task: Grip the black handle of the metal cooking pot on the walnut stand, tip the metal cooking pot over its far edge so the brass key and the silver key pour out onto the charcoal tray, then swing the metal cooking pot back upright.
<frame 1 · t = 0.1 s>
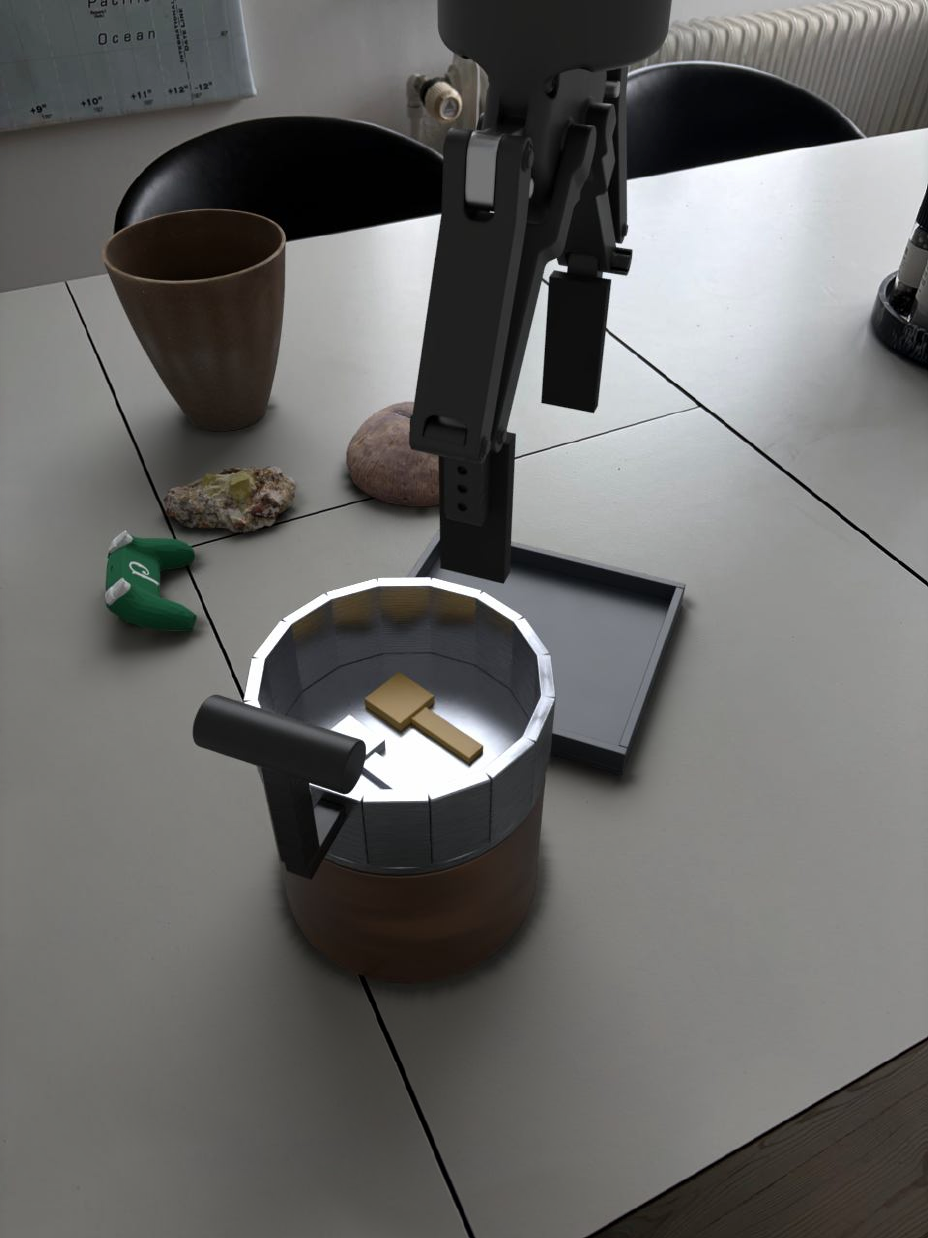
hand: (527, 479, 45), 24 cm above the table, tool pointing down, fingers open, 13 cm apart
decorative stone: (417, 471, 87), on the table
stand: (411, 865, 58), on the table
gaming controller: (157, 600, 75), on the table
brass key: (428, 723, 52), point 11 cm above the table, touching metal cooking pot
mineral rock: (233, 508, 83), on the table
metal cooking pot: (382, 691, 45), point 17 cm above the table, hinge at -0.1°, touching brass key, silver key
flower pot: (225, 412, 94), on the table
silver key: (377, 770, 49), point 11 cm above the table, touching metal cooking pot
tray: (521, 646, 71), on the table
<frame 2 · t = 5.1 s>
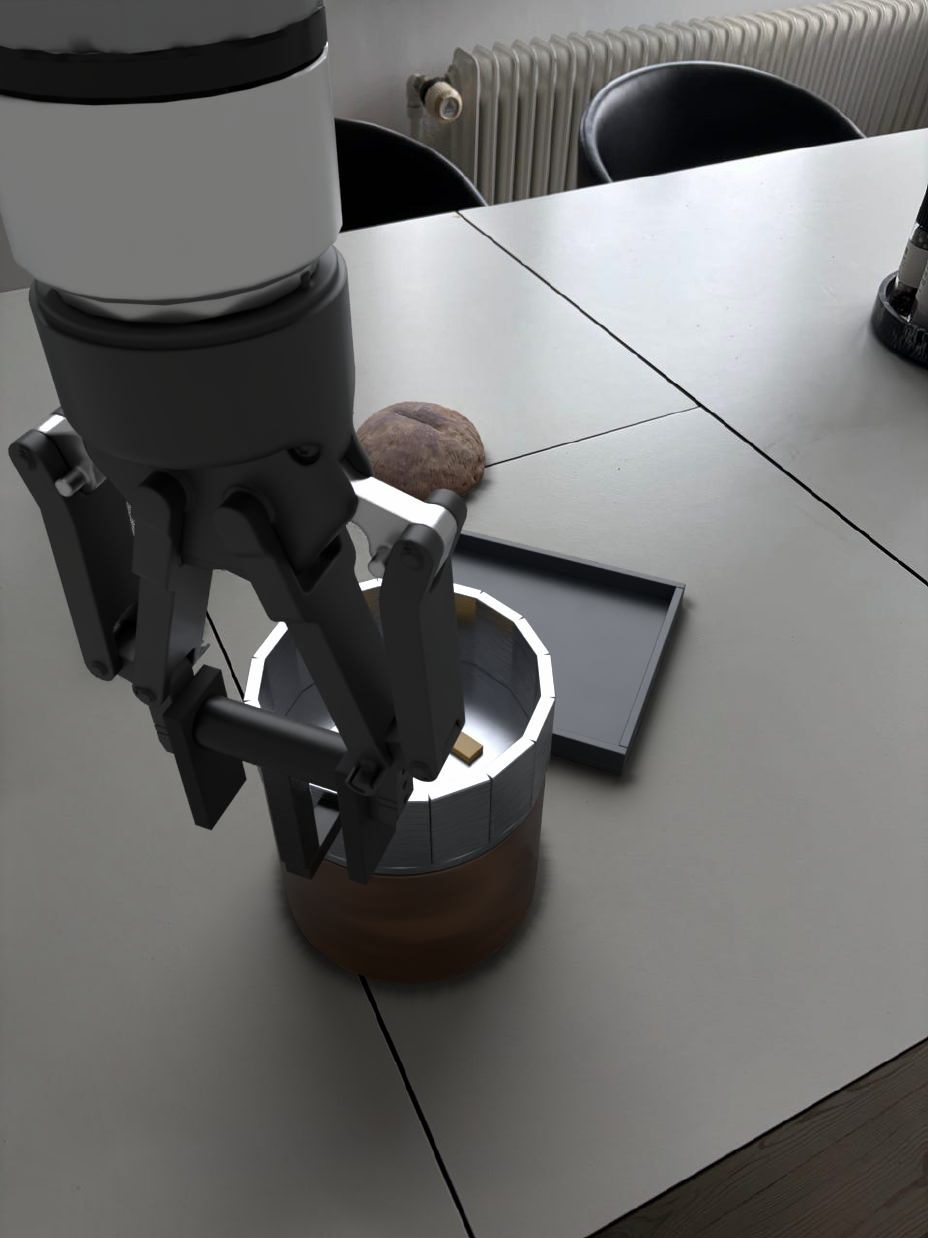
hand: (295, 826, 40), 17 cm above the table, tool pointing down, fingers closed on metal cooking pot, 6 cm apart
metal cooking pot: (382, 691, 45), point 17 cm above the table, hinge at -0.1°, touching brass key, gripper, silver key
everything else where it was.
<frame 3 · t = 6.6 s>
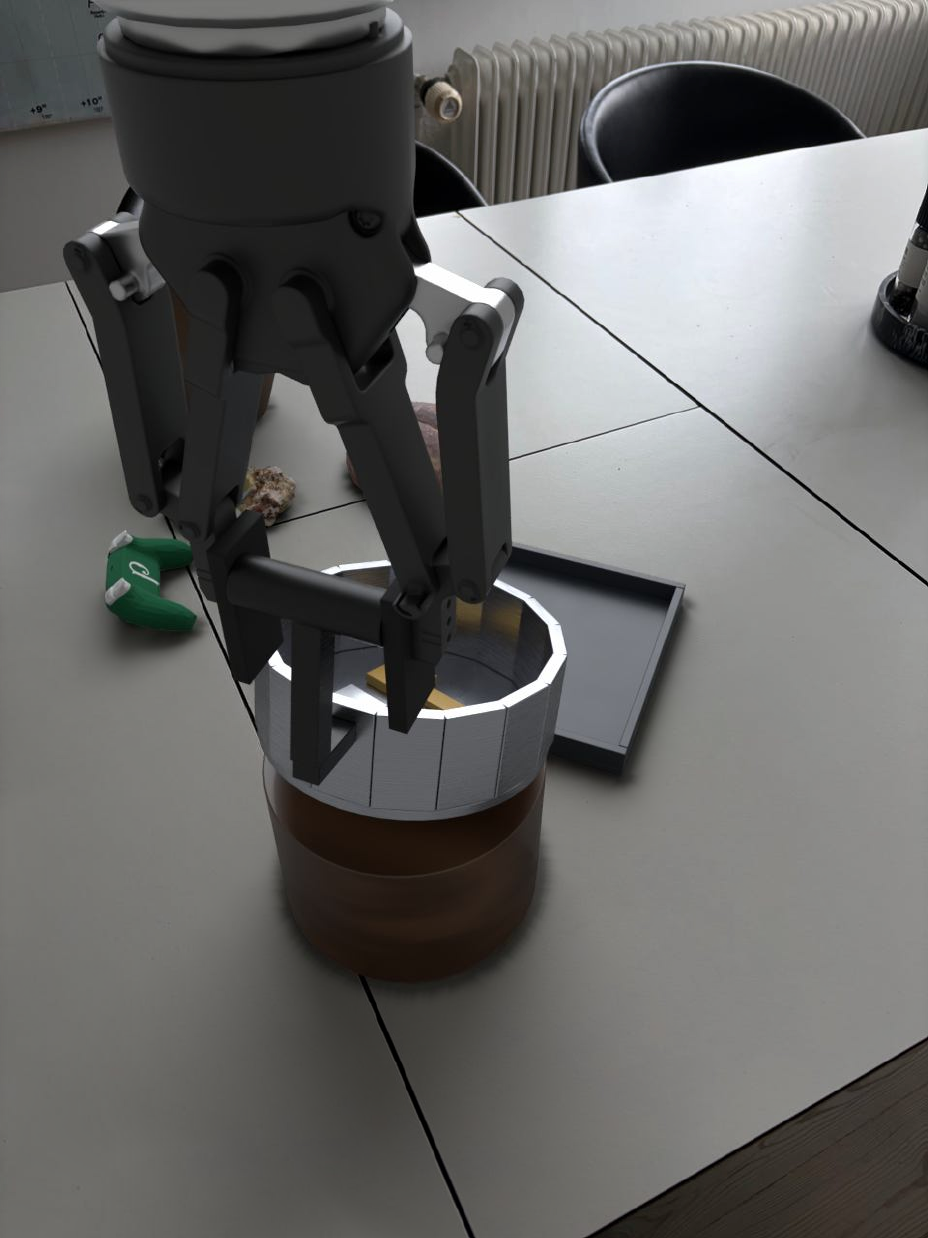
hand: (334, 682, 40), 21 cm above the table, tool pointing down, fingers closed on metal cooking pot, 6 cm apart
brass key: (430, 700, 51), point 12 cm above the table, tilted 15°, touching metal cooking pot
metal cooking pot: (397, 630, 45), point 19 cm above the table, hinge at 14.6°, touching brass key, gripper, silver key
silver key: (378, 732, 48), point 13 cm above the table, tilted 15°, touching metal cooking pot
everything else where it was.
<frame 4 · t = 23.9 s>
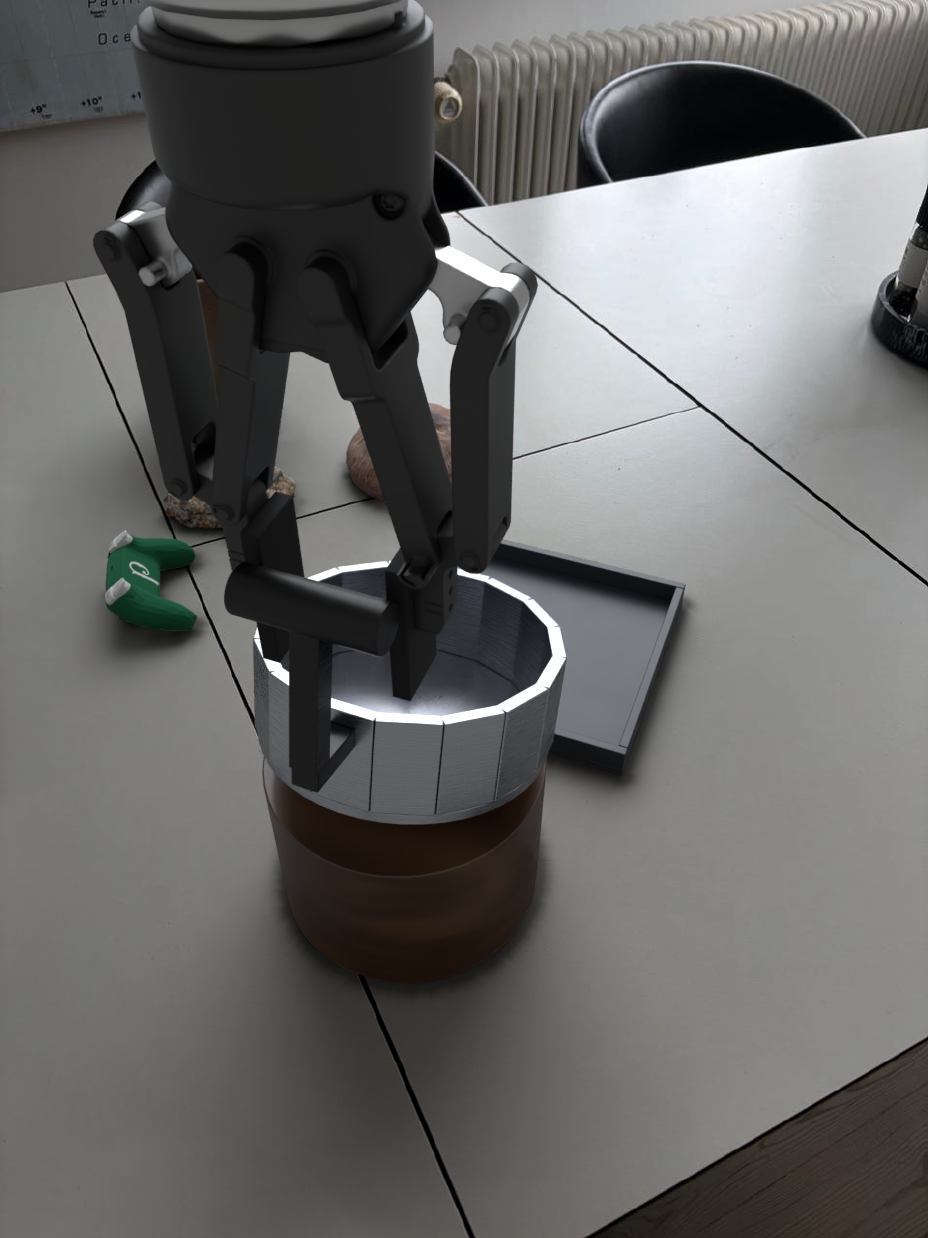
hand: (349, 655, 41), 21 cm above the table, tool pointing down, fingers open, 5 cm apart
brass key: (496, 638, 70), point 1 cm above the table, touching silver key
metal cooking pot: (396, 634, 45), point 19 cm above the table, hinge at 13.6°, touching gripper
silver key: (509, 644, 71), resting on tray, touching brass key
everything else where it was.
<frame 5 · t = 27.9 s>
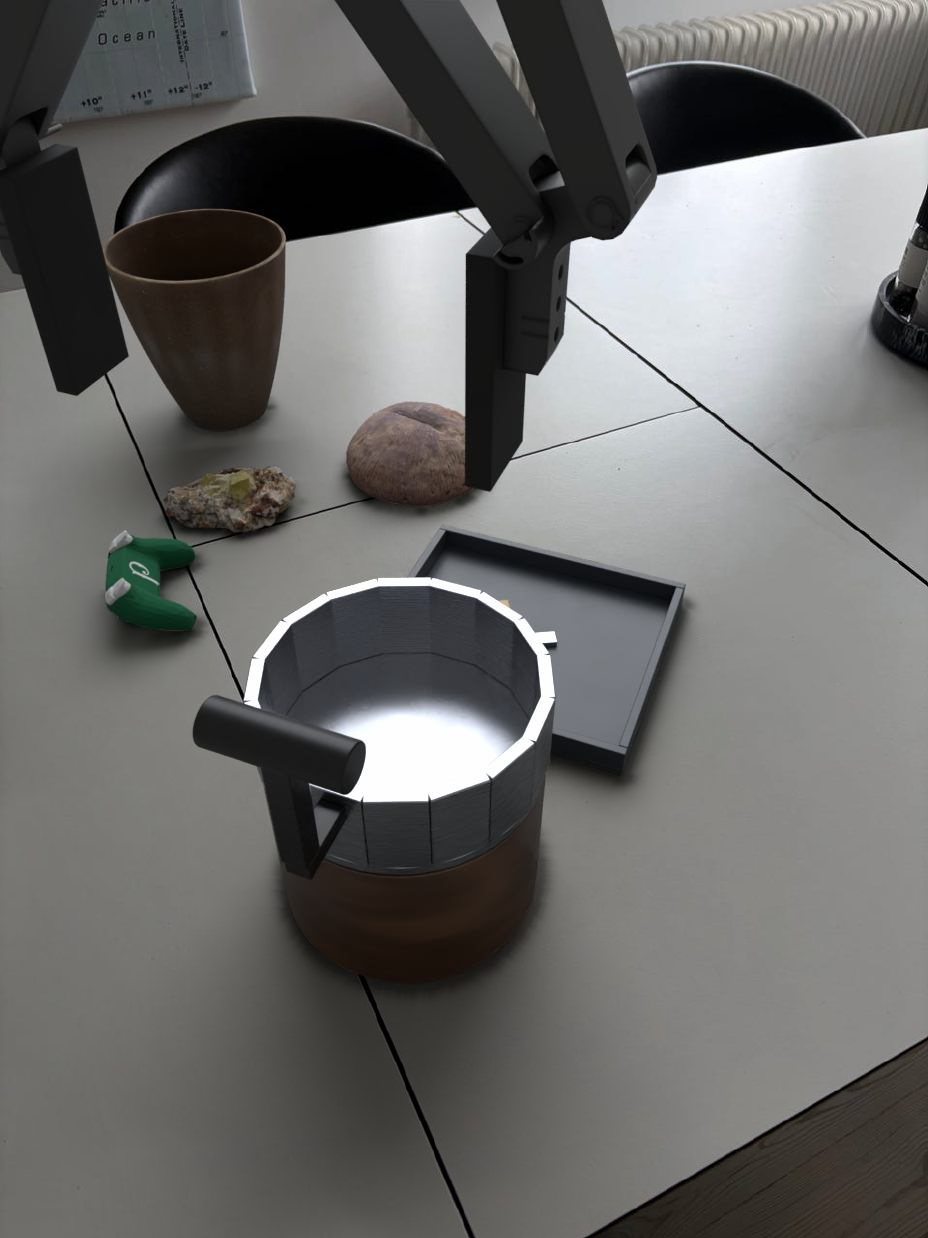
hand: (282, 416, 30), 34 cm above the table, tool pointing down, fingers open, 13 cm apart
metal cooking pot: (382, 692, 45), point 17 cm above the table, hinge at -0.1°
everything else where it was.
at the end: brass key inside the target area in the tray (1.8 cm from its centre), point 1.1 cm above the tray's base; silver key inside the target area in the tray (0.9 cm from its centre), point 0.5 cm above the tray's base; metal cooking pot at +0° (first picture: +0°) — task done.
